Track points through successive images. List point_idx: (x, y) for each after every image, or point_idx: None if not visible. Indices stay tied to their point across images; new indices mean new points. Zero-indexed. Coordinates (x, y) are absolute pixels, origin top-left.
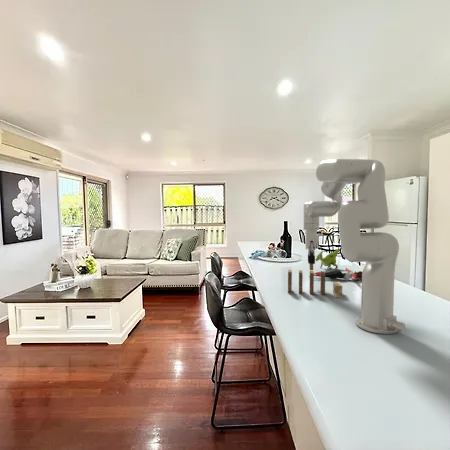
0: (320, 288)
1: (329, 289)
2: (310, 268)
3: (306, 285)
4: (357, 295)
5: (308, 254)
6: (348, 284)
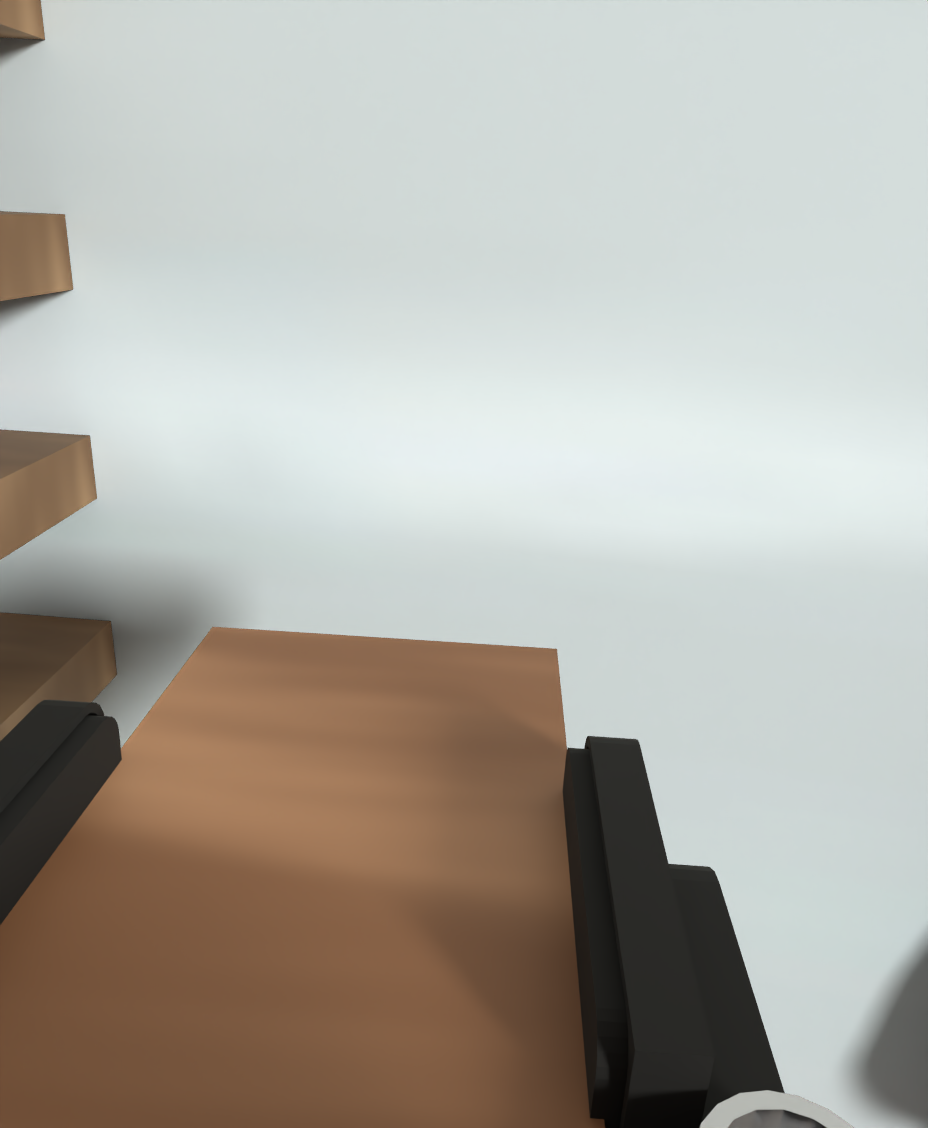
0: (77, 651)
1: None
2: (191, 670)
3: (549, 418)
4: None
5: (621, 1069)
6: None
